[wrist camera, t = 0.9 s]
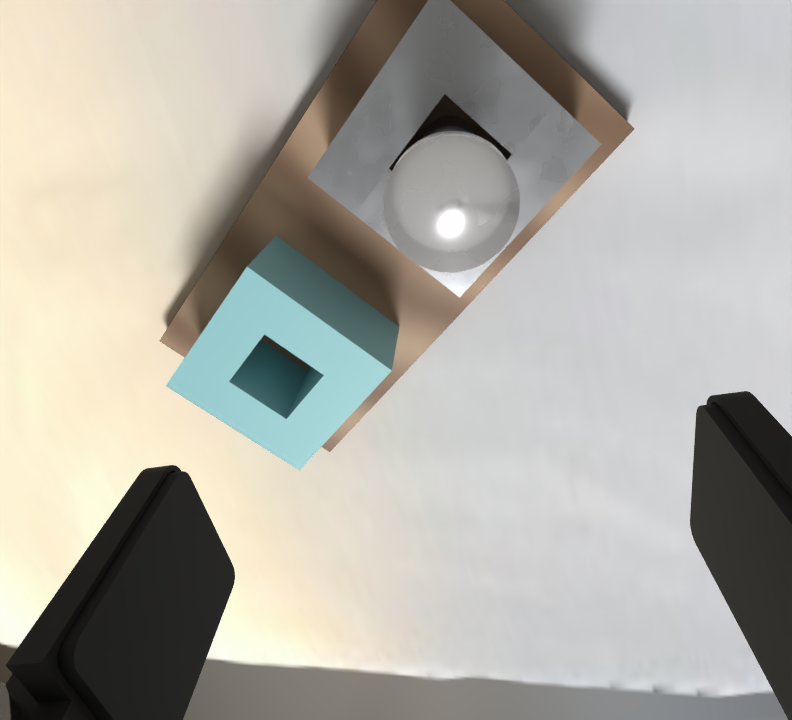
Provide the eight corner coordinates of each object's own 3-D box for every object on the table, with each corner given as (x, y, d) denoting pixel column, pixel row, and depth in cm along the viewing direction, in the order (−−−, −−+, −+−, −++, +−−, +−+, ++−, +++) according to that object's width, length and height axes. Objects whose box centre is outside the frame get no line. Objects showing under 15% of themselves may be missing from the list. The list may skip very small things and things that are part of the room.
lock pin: (444, 81, 31) (443, 103, 17) (506, 137, 32) (549, 197, 19) (393, 150, 33) (356, 217, 19) (453, 200, 34) (457, 296, 21)
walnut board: (426, -71, 29) (425, -76, 28) (627, 125, 32) (634, 128, 31) (168, 331, 41) (159, 341, 40) (333, 440, 45) (329, 451, 44)
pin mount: (438, -1, 29) (436, -13, 24) (575, 128, 31) (601, 144, 26) (329, 157, 33) (307, 177, 28) (457, 261, 36) (459, 297, 30)
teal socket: (276, 235, 36) (246, 266, 30) (399, 326, 38) (391, 370, 33) (202, 342, 40) (165, 385, 35) (317, 418, 42) (299, 470, 37)
